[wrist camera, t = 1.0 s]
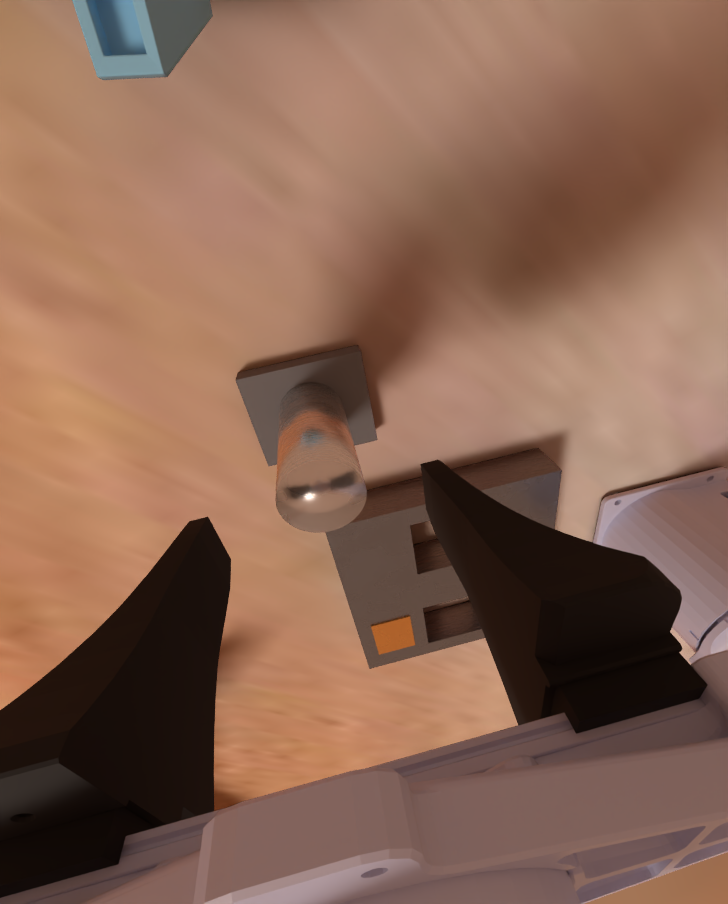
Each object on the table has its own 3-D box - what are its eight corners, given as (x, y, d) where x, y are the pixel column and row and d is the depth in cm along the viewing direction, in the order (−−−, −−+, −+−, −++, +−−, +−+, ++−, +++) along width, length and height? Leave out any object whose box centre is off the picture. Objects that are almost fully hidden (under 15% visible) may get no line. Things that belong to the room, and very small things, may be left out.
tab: (357, 345, 19) (360, 351, 18) (373, 431, 22) (377, 439, 21) (237, 372, 19) (235, 379, 18) (269, 456, 22) (268, 466, 21)
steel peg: (335, 375, 19) (357, 450, 13) (349, 431, 21) (373, 520, 15) (270, 390, 19) (262, 473, 13) (289, 446, 20) (290, 541, 15)
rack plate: (538, 448, 25) (562, 471, 22) (526, 595, 33) (543, 623, 31) (321, 501, 24) (324, 531, 22) (364, 638, 32) (369, 669, 30)
